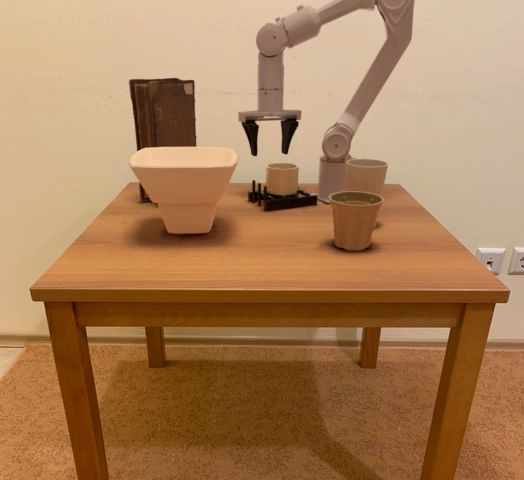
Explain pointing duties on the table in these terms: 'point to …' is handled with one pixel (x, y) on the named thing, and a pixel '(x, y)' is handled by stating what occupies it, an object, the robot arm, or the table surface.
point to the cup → (366, 176)
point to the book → (163, 114)
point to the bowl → (185, 183)
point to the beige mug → (282, 178)
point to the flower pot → (354, 218)
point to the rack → (280, 199)
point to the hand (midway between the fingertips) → (269, 154)
